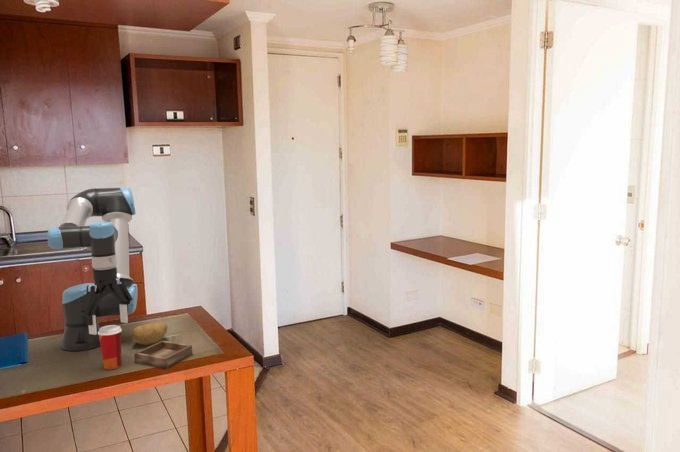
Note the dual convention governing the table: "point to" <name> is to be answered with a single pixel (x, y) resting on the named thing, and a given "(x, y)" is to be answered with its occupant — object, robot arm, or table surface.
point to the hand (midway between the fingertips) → (109, 328)
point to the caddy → (163, 354)
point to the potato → (149, 333)
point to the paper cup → (110, 346)
